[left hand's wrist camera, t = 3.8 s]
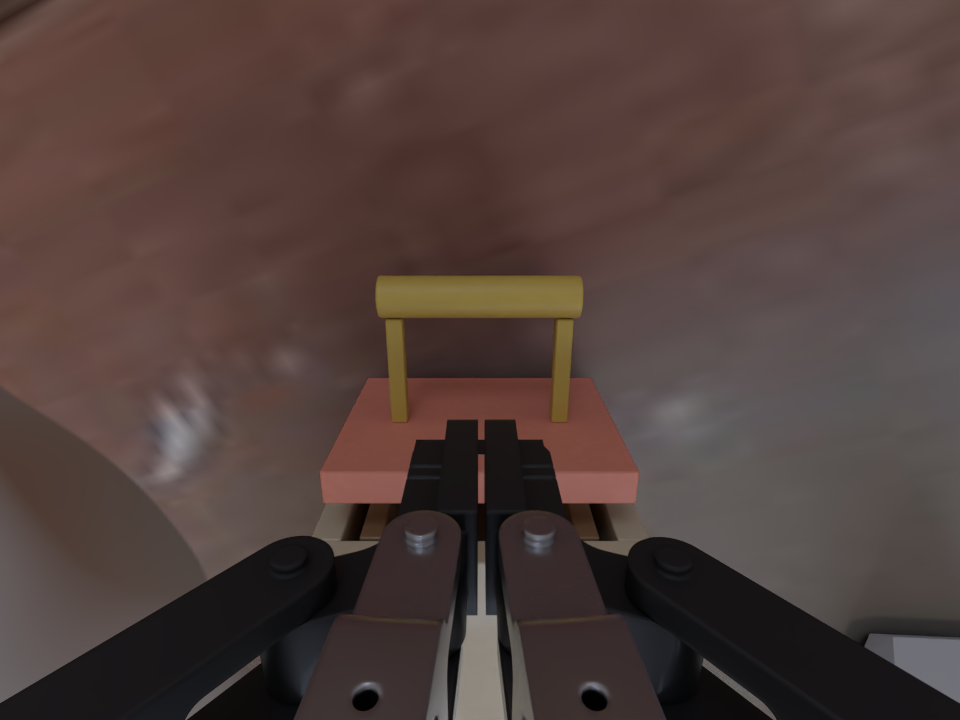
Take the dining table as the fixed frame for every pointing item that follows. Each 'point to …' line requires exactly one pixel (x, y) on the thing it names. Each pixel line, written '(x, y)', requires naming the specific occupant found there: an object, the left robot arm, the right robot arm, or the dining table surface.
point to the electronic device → (923, 658)
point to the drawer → (478, 403)
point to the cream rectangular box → (480, 594)
